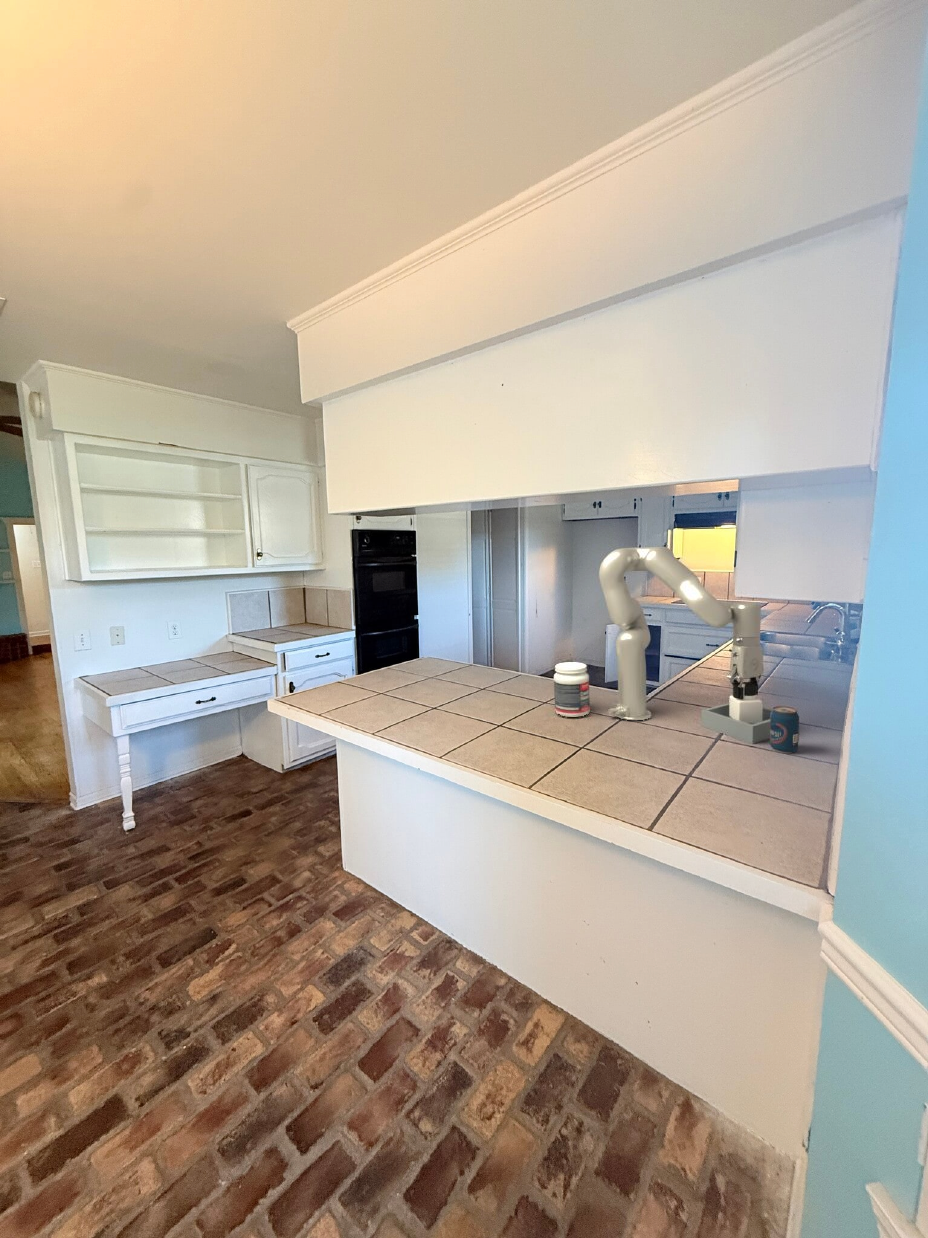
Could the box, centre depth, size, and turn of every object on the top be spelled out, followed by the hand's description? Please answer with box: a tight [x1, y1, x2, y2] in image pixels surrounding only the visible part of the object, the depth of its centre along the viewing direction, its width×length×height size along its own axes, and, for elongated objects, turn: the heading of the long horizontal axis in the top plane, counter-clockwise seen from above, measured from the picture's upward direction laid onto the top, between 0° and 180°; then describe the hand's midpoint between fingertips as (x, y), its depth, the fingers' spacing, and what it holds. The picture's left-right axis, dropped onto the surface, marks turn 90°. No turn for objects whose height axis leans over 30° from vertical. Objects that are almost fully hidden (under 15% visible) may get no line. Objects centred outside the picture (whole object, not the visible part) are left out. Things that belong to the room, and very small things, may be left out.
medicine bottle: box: [728, 681, 764, 723], centre depth 157 cm, size 7×7×12 cm
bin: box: [700, 702, 773, 745], centre depth 158 cm, size 18×18×6 cm
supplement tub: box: [553, 661, 591, 717], centre depth 182 cm, size 13×13×18 cm
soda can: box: [769, 705, 800, 754], centre depth 141 cm, size 7×7×12 cm
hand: (745, 696), depth 157 cm, fingers closed on medicine bottle, 6 cm apart
